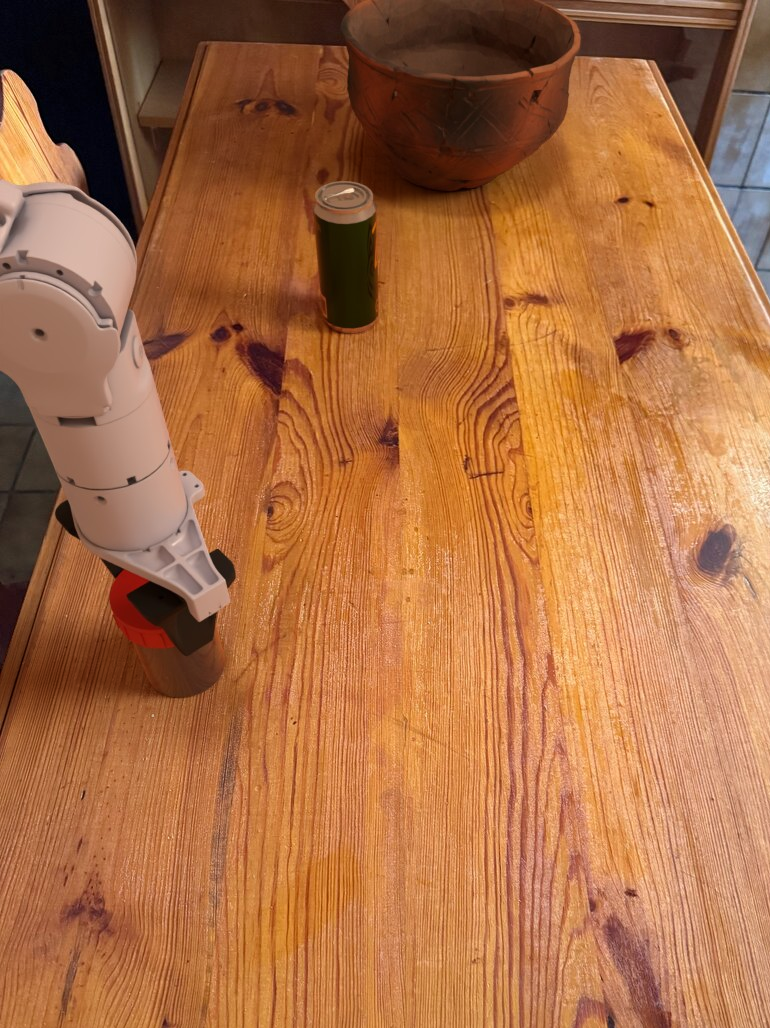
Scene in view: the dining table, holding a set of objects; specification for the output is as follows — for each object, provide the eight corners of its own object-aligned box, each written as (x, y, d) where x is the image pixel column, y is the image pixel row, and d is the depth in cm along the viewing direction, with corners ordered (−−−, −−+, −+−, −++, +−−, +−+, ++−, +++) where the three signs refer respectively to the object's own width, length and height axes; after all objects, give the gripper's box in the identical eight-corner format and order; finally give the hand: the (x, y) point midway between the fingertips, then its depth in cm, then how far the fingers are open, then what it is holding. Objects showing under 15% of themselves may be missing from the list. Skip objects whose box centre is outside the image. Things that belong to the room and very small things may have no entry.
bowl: (536, 243, 94) (556, 91, 82) (316, 202, 97) (304, 50, 85) (578, 139, 109) (599, -2, 97) (385, 106, 112) (384, -34, 100)
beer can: (335, 341, 82) (326, 217, 73) (313, 309, 85) (302, 186, 76) (388, 327, 84) (386, 204, 74) (365, 296, 87) (360, 175, 77)
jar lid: (105, 646, 53) (96, 627, 51) (130, 569, 57) (123, 549, 55) (205, 651, 53) (199, 633, 52) (224, 574, 57) (219, 555, 55)
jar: (137, 696, 58) (107, 627, 52) (156, 631, 61) (129, 560, 55) (217, 700, 58) (196, 632, 52) (232, 635, 61) (213, 564, 55)
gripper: (263, 491, 43) (291, 650, 54) (108, 349, 49) (161, 517, 60) (134, 564, 40) (191, 717, 51) (-14, 403, 46) (65, 570, 57)
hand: (168, 613), depth 55 cm, fingers closed on jar lid, 6 cm apart
